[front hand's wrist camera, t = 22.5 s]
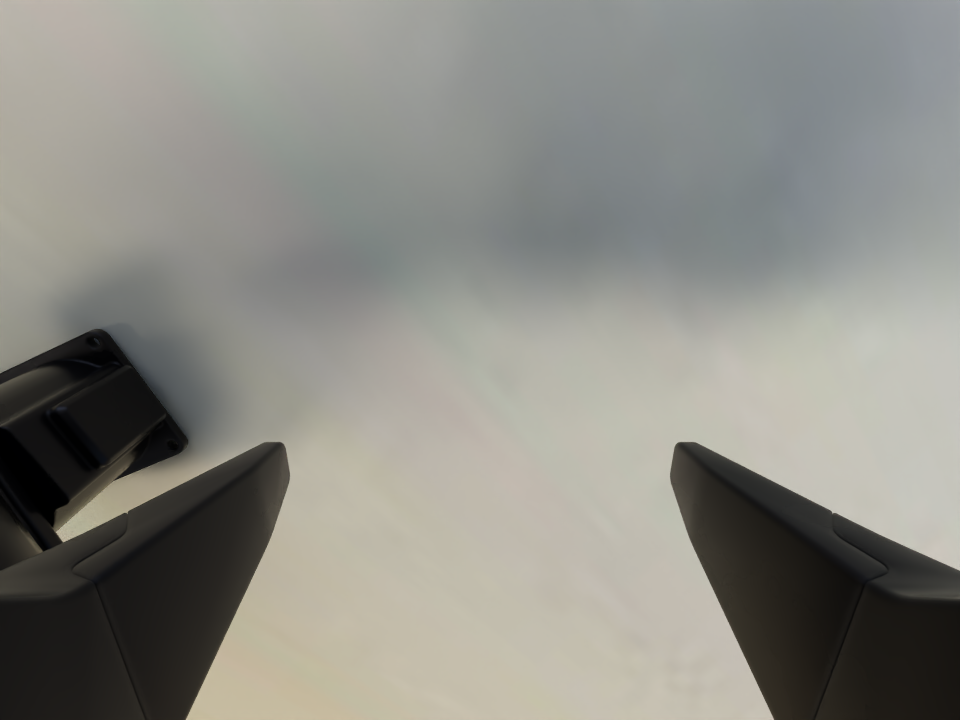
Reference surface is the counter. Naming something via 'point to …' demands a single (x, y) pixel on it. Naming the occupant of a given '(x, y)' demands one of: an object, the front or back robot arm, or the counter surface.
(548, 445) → the counter surface
